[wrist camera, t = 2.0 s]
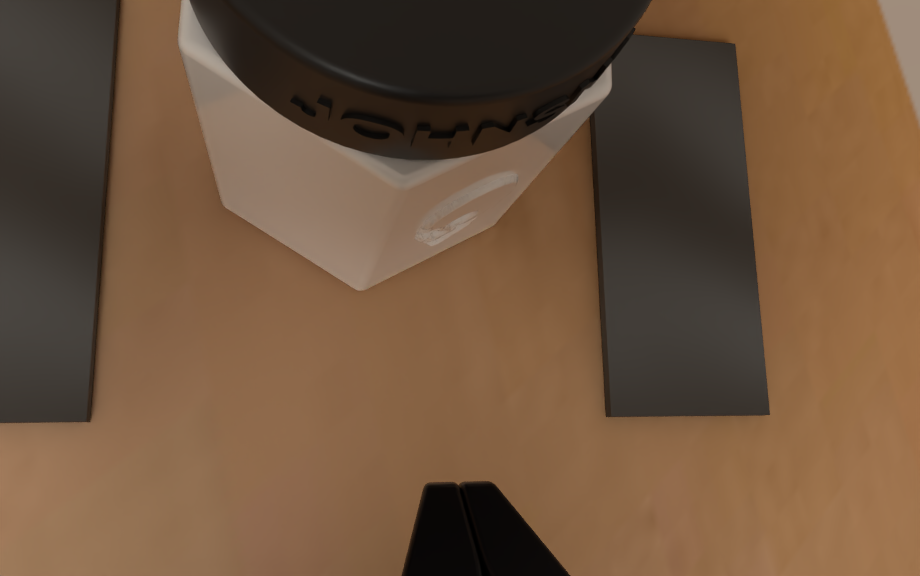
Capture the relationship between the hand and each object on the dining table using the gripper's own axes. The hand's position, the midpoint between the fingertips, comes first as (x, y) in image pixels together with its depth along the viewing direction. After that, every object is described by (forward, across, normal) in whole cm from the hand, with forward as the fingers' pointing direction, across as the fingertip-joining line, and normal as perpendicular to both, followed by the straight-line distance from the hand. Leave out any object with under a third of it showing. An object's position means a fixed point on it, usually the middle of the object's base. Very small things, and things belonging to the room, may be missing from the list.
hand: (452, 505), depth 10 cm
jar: (+16, 0, +2) cm, 16 cm away
